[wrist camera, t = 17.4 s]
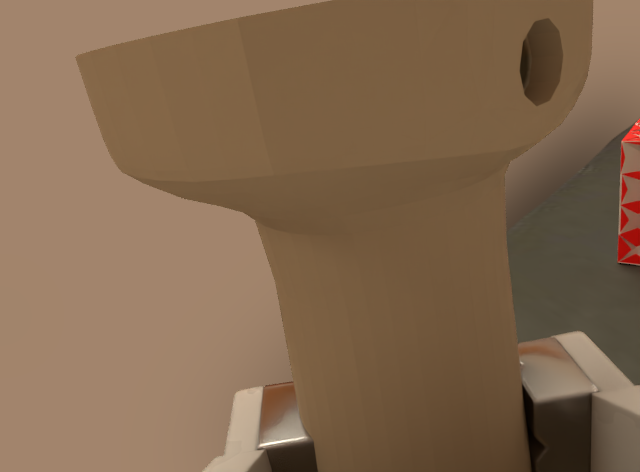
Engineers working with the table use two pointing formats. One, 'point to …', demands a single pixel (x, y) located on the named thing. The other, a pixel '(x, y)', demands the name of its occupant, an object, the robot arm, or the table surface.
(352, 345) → the handle
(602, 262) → the table surface
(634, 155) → the red and white cube
